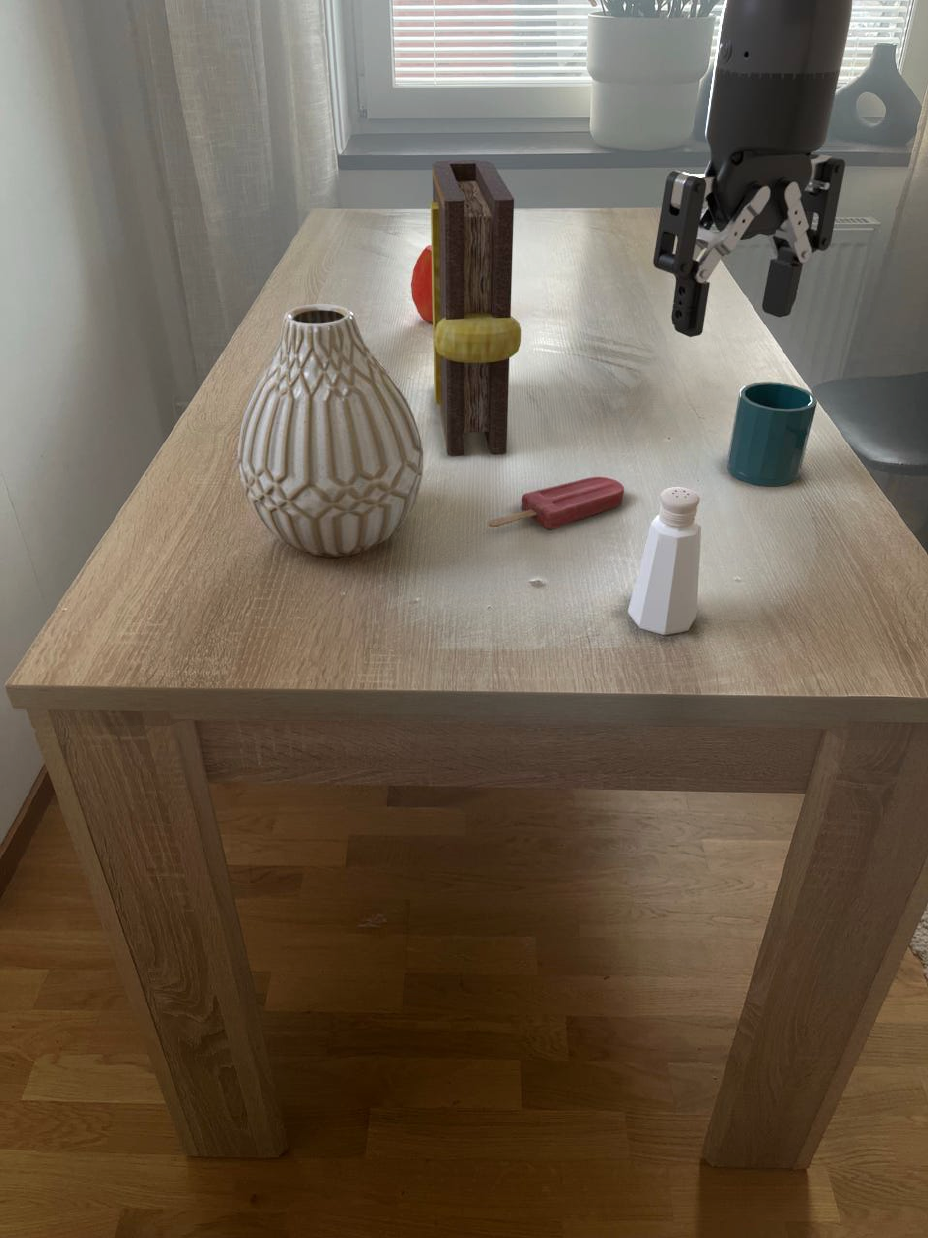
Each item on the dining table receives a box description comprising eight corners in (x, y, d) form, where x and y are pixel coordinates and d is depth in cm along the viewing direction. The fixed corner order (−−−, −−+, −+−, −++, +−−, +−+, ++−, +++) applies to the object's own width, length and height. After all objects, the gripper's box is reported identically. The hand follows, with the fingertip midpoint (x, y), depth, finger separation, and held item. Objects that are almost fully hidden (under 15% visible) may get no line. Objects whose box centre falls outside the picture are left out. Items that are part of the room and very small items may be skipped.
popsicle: (476, 506, 85) (604, 470, 91) (475, 522, 86) (603, 486, 92) (503, 527, 81) (634, 488, 88) (502, 544, 82) (632, 504, 89)
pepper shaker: (692, 598, 76) (713, 478, 69) (699, 638, 71) (723, 514, 65) (626, 594, 76) (641, 475, 70) (629, 634, 72) (645, 510, 65)
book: (426, 386, 112) (421, 160, 98) (495, 383, 113) (500, 159, 98) (438, 468, 95) (434, 208, 80) (520, 465, 95) (531, 206, 81)
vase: (322, 477, 93) (301, 274, 81) (457, 517, 87) (456, 302, 75) (212, 549, 82) (170, 325, 70) (358, 600, 75) (339, 363, 64)
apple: (467, 309, 136) (468, 233, 130) (469, 327, 130) (470, 248, 124) (412, 309, 136) (410, 233, 130) (411, 328, 130) (408, 248, 123)
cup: (807, 465, 95) (825, 391, 91) (786, 493, 91) (804, 416, 86) (740, 448, 99) (754, 376, 94) (716, 474, 94) (729, 400, 89)
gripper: (735, 73, 51) (692, 357, 61) (905, 60, 57) (842, 321, 67) (648, 61, 56) (621, 325, 66) (812, 51, 62) (766, 294, 72)
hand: (732, 323), depth 66 cm, fingers open, 8 cm apart
